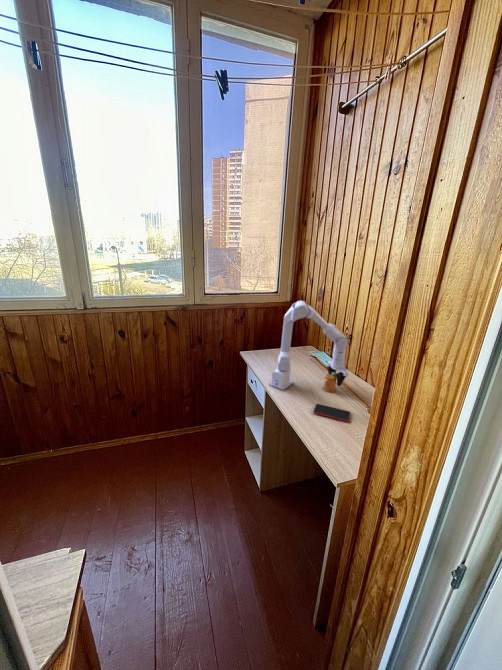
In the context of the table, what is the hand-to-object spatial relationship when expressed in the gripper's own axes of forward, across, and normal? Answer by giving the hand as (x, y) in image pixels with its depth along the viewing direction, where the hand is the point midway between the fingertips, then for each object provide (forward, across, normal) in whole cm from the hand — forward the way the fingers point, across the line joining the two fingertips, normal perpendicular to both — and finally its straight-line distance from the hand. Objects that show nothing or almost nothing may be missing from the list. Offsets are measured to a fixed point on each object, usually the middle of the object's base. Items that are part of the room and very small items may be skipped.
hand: (335, 382), depth 149 cm
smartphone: (+2, -19, +16) cm, 25 cm away
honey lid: (-4, 0, 0) cm, 4 cm away
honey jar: (+2, -1, +4) cm, 5 cm away
